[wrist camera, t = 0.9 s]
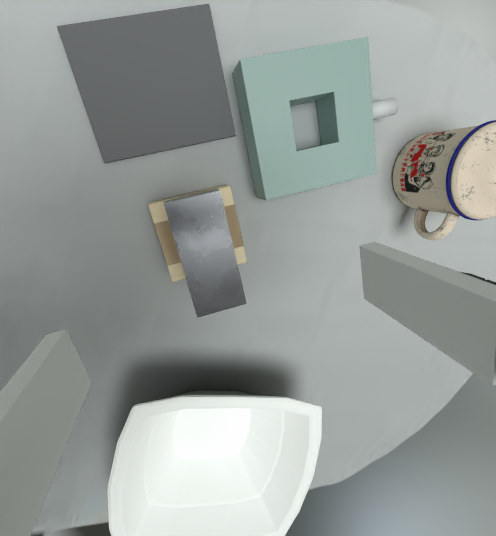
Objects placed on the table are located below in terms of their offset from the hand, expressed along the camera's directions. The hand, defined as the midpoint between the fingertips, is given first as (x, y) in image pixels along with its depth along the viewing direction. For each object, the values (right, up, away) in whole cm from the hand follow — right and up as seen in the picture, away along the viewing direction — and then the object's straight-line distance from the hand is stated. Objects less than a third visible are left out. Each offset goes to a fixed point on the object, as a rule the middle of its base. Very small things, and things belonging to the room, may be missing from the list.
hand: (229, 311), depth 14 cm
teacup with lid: (+21, +12, +24) cm, 35 cm away
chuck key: (-5, +6, +20) cm, 21 cm away
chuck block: (+8, +17, +19) cm, 27 cm away
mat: (-8, +19, +15) cm, 25 cm away
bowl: (-4, -19, +28) cm, 34 cm away
